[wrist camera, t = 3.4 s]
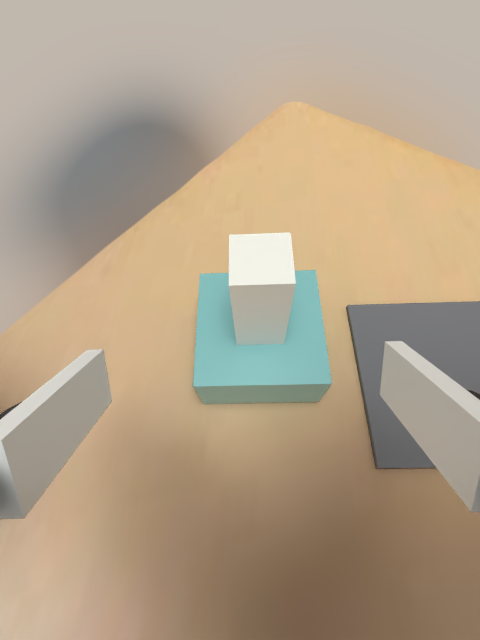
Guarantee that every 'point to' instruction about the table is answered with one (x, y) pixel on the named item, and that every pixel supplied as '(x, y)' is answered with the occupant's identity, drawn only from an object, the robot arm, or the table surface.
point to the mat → (427, 340)
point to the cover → (260, 328)
